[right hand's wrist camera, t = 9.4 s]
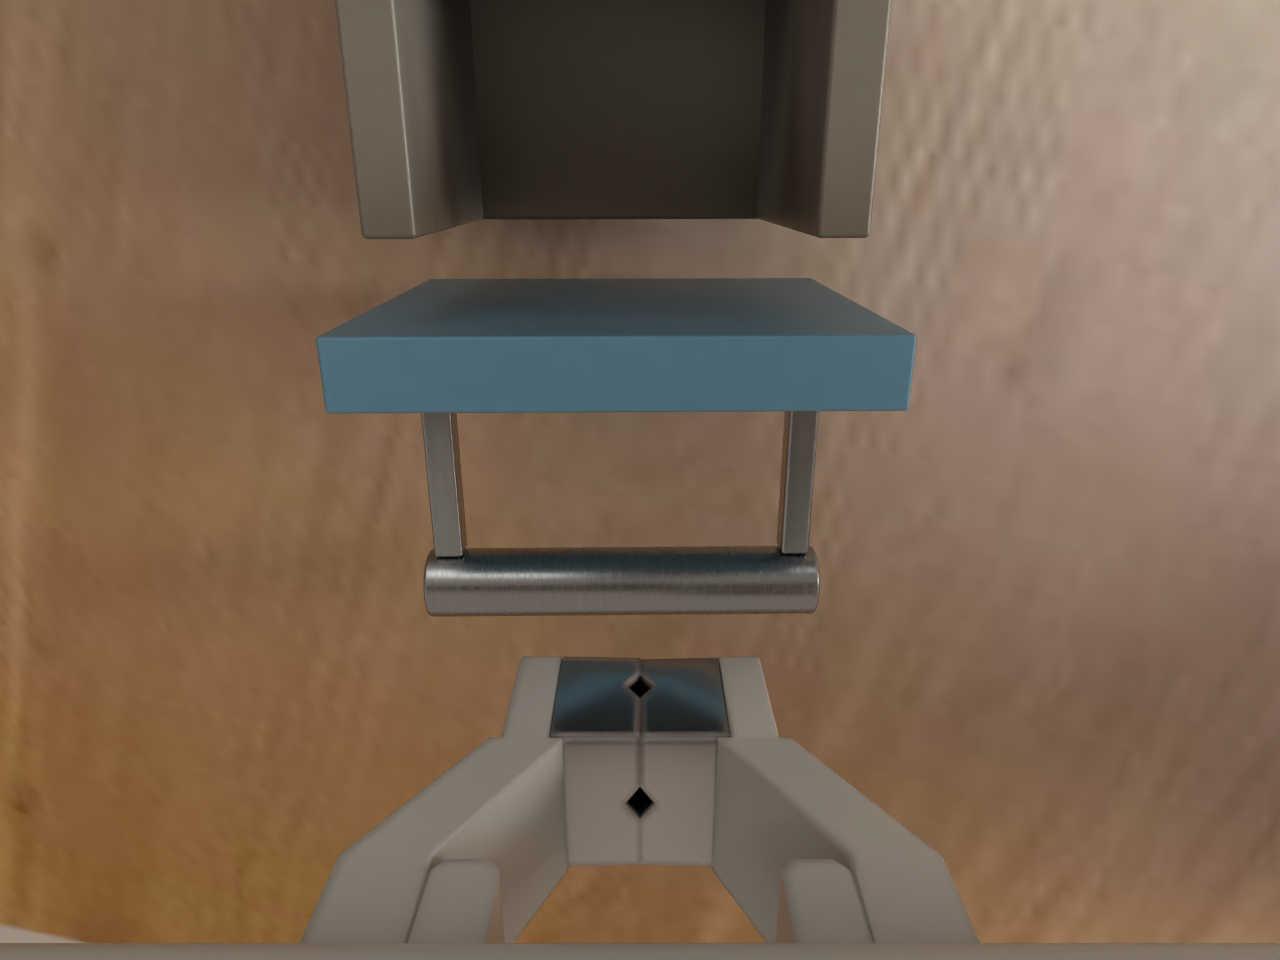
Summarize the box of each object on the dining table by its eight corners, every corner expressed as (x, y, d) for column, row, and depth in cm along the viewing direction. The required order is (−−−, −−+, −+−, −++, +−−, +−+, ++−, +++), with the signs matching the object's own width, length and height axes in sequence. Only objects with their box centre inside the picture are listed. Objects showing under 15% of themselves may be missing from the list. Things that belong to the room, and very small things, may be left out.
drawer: (793, 540, 22) (873, 714, 15) (452, 543, 22) (367, 719, 15) (871, -560, 14) (1107, -1268, 7) (353, -565, 14) (86, -1290, 7)
